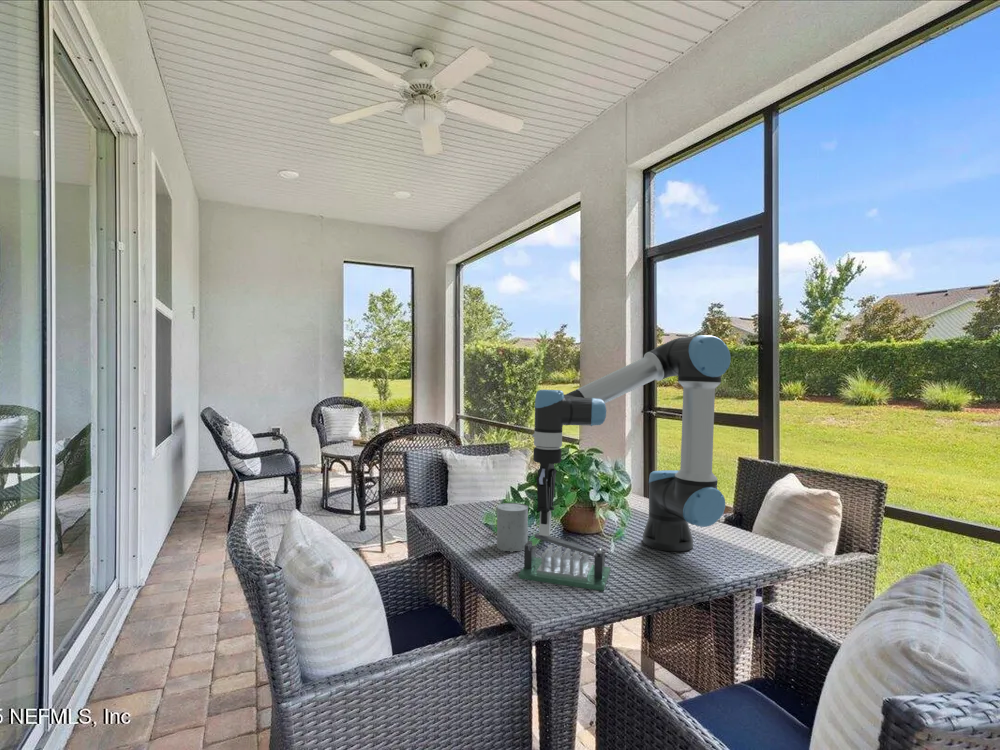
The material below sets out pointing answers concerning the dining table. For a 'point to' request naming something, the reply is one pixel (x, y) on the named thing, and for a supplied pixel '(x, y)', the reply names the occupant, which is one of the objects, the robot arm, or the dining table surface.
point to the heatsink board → (565, 568)
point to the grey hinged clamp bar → (569, 544)
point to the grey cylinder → (512, 526)
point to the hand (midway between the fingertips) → (544, 534)
